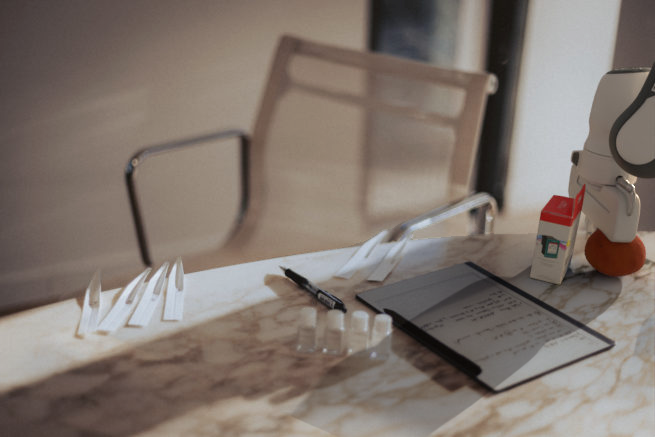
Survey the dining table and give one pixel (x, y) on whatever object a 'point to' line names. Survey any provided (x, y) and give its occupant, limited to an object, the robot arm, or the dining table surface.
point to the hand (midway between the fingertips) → (592, 243)
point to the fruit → (614, 255)
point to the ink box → (556, 237)
